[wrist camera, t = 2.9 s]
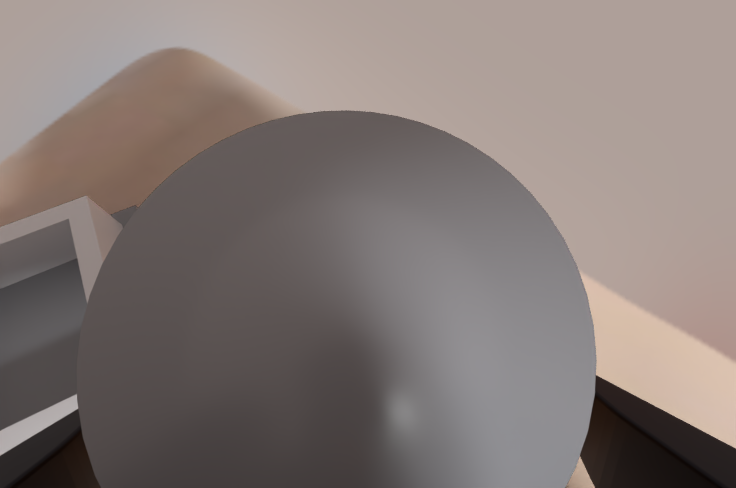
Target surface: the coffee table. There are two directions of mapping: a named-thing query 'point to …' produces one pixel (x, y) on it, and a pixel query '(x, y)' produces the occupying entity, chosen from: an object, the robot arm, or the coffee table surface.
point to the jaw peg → (337, 320)
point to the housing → (47, 310)
